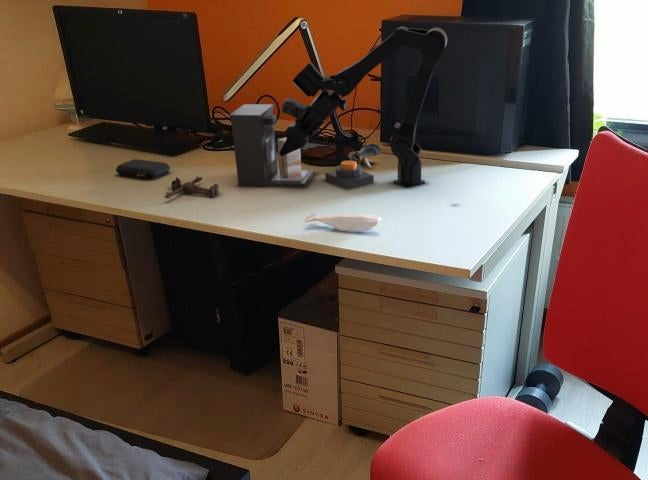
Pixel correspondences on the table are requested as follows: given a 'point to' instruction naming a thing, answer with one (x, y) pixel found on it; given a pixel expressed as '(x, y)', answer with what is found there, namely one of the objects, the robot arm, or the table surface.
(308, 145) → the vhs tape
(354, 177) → the dark grey button base
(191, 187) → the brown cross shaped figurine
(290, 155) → the cream carton
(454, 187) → the table surface
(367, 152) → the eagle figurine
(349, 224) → the white fish figurine
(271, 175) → the coffee maker
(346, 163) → the button
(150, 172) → the carrying case
